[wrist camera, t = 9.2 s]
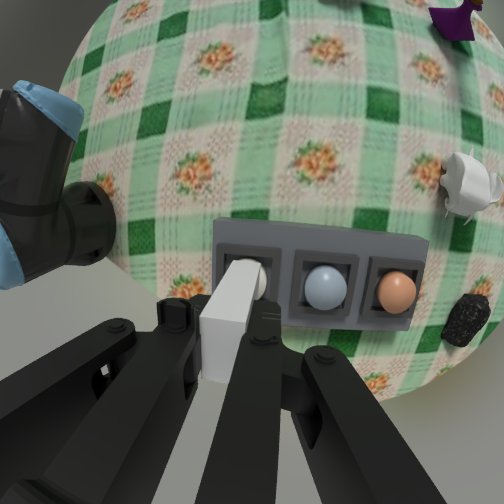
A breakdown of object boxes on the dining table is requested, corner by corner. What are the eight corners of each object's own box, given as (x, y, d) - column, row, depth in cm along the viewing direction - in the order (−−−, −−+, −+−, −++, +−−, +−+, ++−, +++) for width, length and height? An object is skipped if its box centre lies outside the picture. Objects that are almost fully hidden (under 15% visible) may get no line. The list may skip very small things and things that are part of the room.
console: (218, 305, 42) (209, 321, 37) (220, 217, 39) (210, 221, 34) (399, 319, 39) (411, 335, 34) (417, 235, 36) (434, 243, 30)
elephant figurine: (423, 213, 35) (454, 221, 26) (434, 139, 32) (464, 131, 23) (466, 227, 34) (497, 237, 25) (475, 158, 31) (508, 156, 22)
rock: (436, 338, 39) (449, 355, 33) (456, 287, 36) (474, 300, 31) (460, 340, 39) (474, 356, 33) (480, 292, 36) (497, 304, 30)
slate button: (301, 300, 35) (302, 308, 33) (306, 262, 34) (307, 268, 32) (339, 303, 35) (342, 311, 32) (345, 266, 33) (349, 272, 31)
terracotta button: (372, 305, 34) (377, 313, 32) (379, 269, 33) (385, 275, 30) (404, 306, 34) (410, 313, 31) (412, 271, 32) (419, 277, 30)
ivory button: (227, 293, 36) (223, 300, 34) (228, 256, 35) (224, 261, 33) (265, 297, 36) (264, 305, 33) (268, 259, 35) (267, 265, 32)
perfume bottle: (443, 47, 26) (494, 5, 9) (421, 15, 25) (461, -34, 8) (467, 46, 25) (517, 12, 8) (446, 15, 24) (487, -26, 6)
